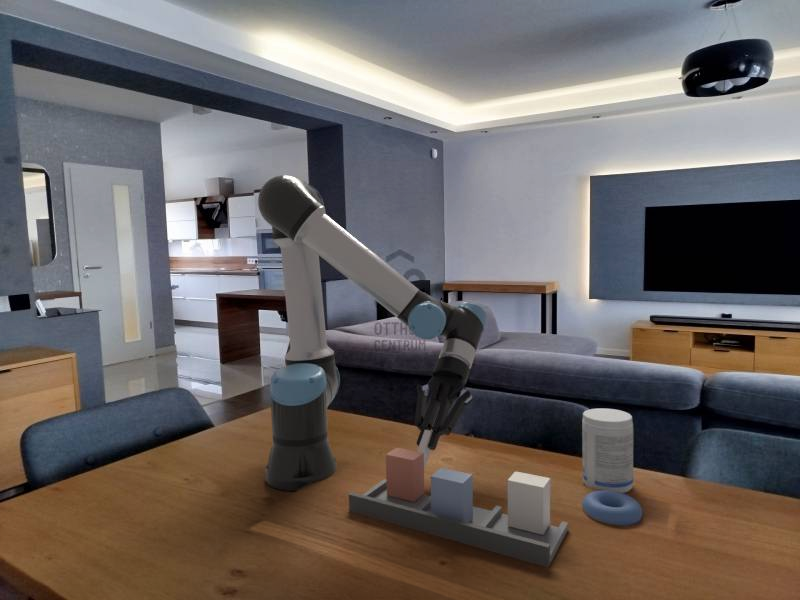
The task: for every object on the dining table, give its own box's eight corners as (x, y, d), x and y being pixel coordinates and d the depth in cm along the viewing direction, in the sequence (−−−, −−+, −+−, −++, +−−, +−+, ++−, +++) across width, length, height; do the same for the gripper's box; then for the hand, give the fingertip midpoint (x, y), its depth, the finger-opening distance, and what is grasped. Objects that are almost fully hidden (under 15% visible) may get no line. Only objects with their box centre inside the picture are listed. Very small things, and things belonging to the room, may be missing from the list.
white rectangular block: (507, 525, 90) (507, 480, 89) (515, 515, 93) (515, 471, 93) (543, 535, 87) (543, 487, 86) (550, 524, 90) (550, 478, 90)
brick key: (386, 495, 102) (385, 454, 101) (397, 486, 106) (396, 447, 105) (414, 502, 99) (413, 460, 98) (424, 493, 103) (423, 453, 102)
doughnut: (630, 540, 88) (630, 511, 88) (572, 523, 94) (572, 496, 95) (650, 522, 95) (650, 496, 95) (595, 508, 102) (595, 483, 102)
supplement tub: (642, 487, 107) (644, 416, 106) (613, 500, 102) (614, 425, 100) (600, 471, 115) (601, 404, 114) (571, 482, 110) (572, 412, 108)
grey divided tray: (349, 518, 97) (348, 494, 97) (384, 491, 107) (384, 470, 107) (548, 576, 79) (548, 547, 78) (568, 538, 89) (568, 512, 88)
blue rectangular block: (431, 521, 92) (430, 476, 91) (441, 511, 95) (441, 467, 95) (463, 529, 89) (463, 483, 88) (472, 519, 92) (472, 474, 92)
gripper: (486, 376, 119) (455, 477, 106) (433, 370, 125) (398, 464, 112) (476, 357, 114) (443, 460, 101) (422, 352, 120) (384, 448, 107)
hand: (420, 462), depth 107 cm, fingers closed
